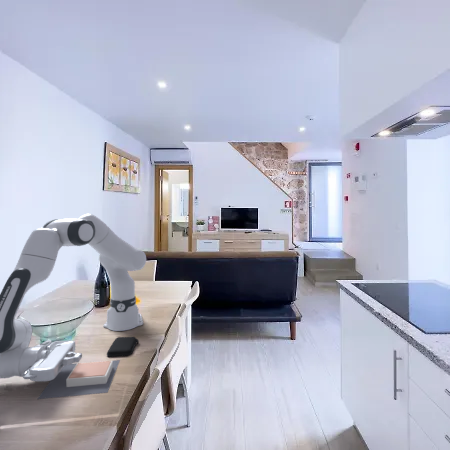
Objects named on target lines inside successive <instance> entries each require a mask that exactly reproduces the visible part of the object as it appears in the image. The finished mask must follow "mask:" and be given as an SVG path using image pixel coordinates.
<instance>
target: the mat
mask: <svg viewBox="0 0 450 450" xmlns="http://www.w3.org/2000/svg"><path fill="white" fill-rule="evenodd" d="M112 361H113V368H112V371H111V373H110V375H109V378H108V380H107V383H106V384H96V385H85V386H73V387H67V386H66V379H67V378H68V376H69V375H70V373H71V372H72V370H73V369H74V367H75V366H76V364H77V363H78V362H77V363H72V364H69V365H65V366H63V368H62V369H61V370H60V372H59V373H58V375H57V376H56V377H55V379H53V380H51V381H48V382H49V383H47V385H46V386H45V388H44V389H43V390H42V392H41V393H40V394H39V396H38V397H37V400H43V399H45V400H46V399H53V398H56V399H57V398H64V397H65V398H66V397H74V396H75V397H77V396H84V395H85V396H89V395H95V394H96V395H97V394H107V393H108V392H109V390H110V387H111V386H112V385H111V384H112V382H113V379H114V378H115V377H114V376H115V375H116V372H117V370H118V366H119V364H120V361H121V359H116V360H115V359H114V360H112Z"/></svg>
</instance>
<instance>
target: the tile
mask: <svg viewBox="0 0 450 450" xmlns="http://www.w3.org/2000/svg"><path fill="white" fill-rule="evenodd" d="M113 361H114V360H104V361H103V360H101V361H92V362H91V361H90V362H77V364H76V366H75V367H74V369H73V370H72V372H71V373H70V375H69V376H68V378H67V379H66V386H67V387H73V386H85V385H96V384H106V383H107V380H108V378H109V375H110V373H111V371H112V368H113Z"/></svg>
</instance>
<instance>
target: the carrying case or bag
mask: <svg viewBox="0 0 450 450" xmlns="http://www.w3.org/2000/svg"><path fill="white" fill-rule="evenodd" d="M139 342H140V341H139V339H137V338H136V337H135V336H122V337H121V336H120V337H116V338H115V339H114V340H113V342H111V343H112V344H111V345H110V347H109V349H108V350H107V352H106V356H107V357H108V358H117V357H119V358H120V357H129V356H131V355H132V354H133V353H134V350H135V348H136V346H137V345H139Z"/></svg>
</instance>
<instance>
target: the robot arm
mask: <svg viewBox="0 0 450 450" xmlns="http://www.w3.org/2000/svg"><path fill="white" fill-rule="evenodd" d="M87 244H88V245H89V246H90V247H91V248H93V249H94V250H95V252H97V253H98V255H99V258H98V260H99V264H100V265H101V266H102V267H103V268H104V269H105V271H106V273H107V276H108V278H109V281H110V282H109V283H110V295H111V296H110V300H109V305H110V307H109V308H108V309H107V311H106V322H105V323H104V324H103V326H102V327H103V328H106V329H108V330H110V331H114V332H115V331H117V332H121V331H129V330H132V329H134V328H137V327H140V326H142V325H144V321H143V317H142V314H141V313H140V312H139V308H138V305H137V304H136V303H137V298H136V290H135V289H136V288H135V287H136V285H135V280H134V278H133V277H132V276H130V274H129V272H133V271H140V270H142V269H143V268H144V267H145V265H146V263H147V256H146V253H145V251H143V250H141V249H139V248H137V247H135V246H133V245H131V244H130V243H129V242H127V241H125V240H124V239H122V238H121V237H119V236H118V235H117V234H116V233H115V232H114V231H113V230H112V229H111V228H110V226H108V225H107V224H106V223H105V222H104V221H103V220H101V219H100V218H99V217H97V216H96V215H94V214H92V213H86V214H83V215H80V216H79V218H69V217H68V218H61V219H52V220H50V221H47V222H46V223H45V224H44V225H43V226H42V227H41V228H40V227H38V228H36V229H34V230H32V231H31V233H30V235H29V236H28V238H27V240H26V241H25V243H24V245H23V248H22V251H21V252H20V256H19V257H18V260H17V263H16V265H15V267H14V269H13V271H11V274H10V275H9V277H7V278H8V279H7V280H6V282H5V284H4V286H3V288H2V290H1V292H0V379H9V378H13V377H18V378H23V379H24V380H29V381H31V382H50V381H51V380H53V379H55V377H56V376H57V375H58V373H59V372H60V370H61V369H62V368H63V366H65V365H69V364H75V363H80V361H81V360H82V358H83V353H81V352H76V341H75V340H56V341H53V340H45V341H43V342H41V343H39V344H37V345H34V346H30V342H31V341H32V340H31V339H32V336H33V326H32V325H31V324H32V323H31V322H30V321H28V320H27V319H23V318H16V316H17V314H18V311H19V309H20V306H21V305H22V302H23V300H24V297H25V296H26V294H27V292H29V290H30V289H31V288H33V287H34V286H36V285H38V284H40V283H43V282H44V281H46V280H47V279H48V278H49V277H50V276H51V273H52V271H53V270H54V266H55V265H56V261H57V257H58V254H59V251H60V249H61V248H62V247H81V246H86V245H87ZM128 271H129V272H128Z"/></svg>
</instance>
